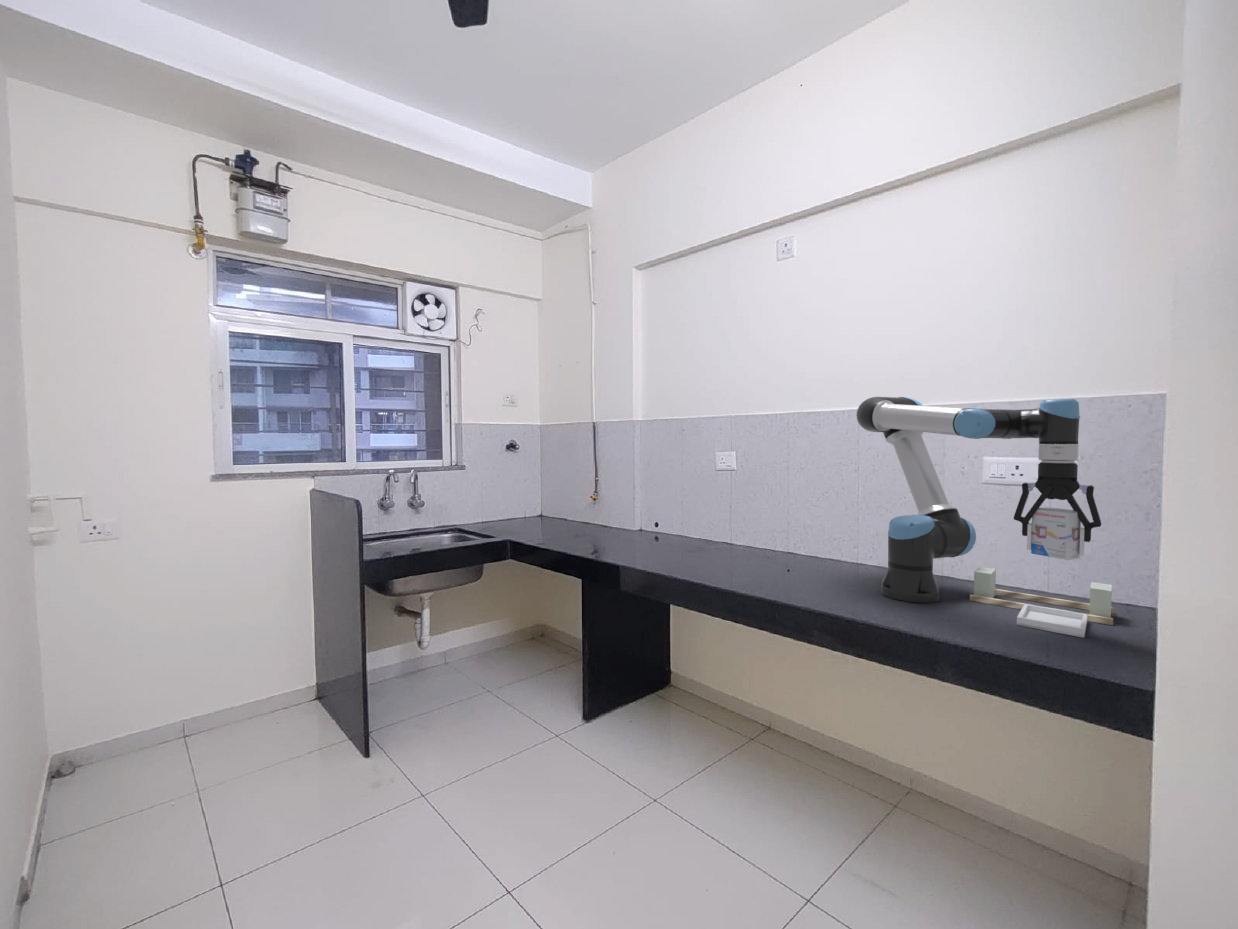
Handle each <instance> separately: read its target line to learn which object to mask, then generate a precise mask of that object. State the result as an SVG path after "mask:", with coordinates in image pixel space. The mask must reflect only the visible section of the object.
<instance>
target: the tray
mask: <svg viewBox="0 0 1238 929" xmlns="http://www.w3.org/2000/svg"><path fill="white" fill-rule="evenodd" d="M1029 604H1030V603H1025V604H1024V606H1023V608H1022V609H1020V611H1019V613H1017V614H1018V615H1017V616H1016V626H1019V627H1020V626H1021V627H1025V628H1032V629H1036V630H1040V631H1041V630H1042V631H1047V632H1051V633H1057V634H1062V635H1067V636H1073V637H1078V638H1083V639H1084V638H1085V636H1086V630H1087V624H1088V621H1087V615H1088V614H1089V613H1084V614H1082V613H1083V612H1079V613H1076V612H1077V611H1073V612H1070V611H1071V610H1067V611H1064V610H1065V609H1061V610H1059V609H1060V608H1055V609H1053V608H1054V607H1053V608H1052V607H1049V608H1047V606H1043V607H1041V606H1042V605H1037V606H1035V605H1036V604H1031V605H1029Z"/></svg>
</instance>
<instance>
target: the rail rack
mask: <svg viewBox="0 0 1238 929" xmlns="http://www.w3.org/2000/svg"><path fill="white" fill-rule="evenodd" d="M995 596H1000V597H1007V598H1012V599H1020V600H1025V601H1032V602H1036V603H1044V604H1049V605H1055V606H1062V607H1070V608H1073V609H1080V610H1086V611H1089V605H1090V602H1088V603H1087V602H1082V601H1077V600H1075V601H1074V600H1068V599H1062V598H1055V597H1049V596H1043V595H1037V594H1036V595H1035V594H1030V593H1026V592H1025V593H1024V592H1018V591H1011V590H1005V589H999V588H995ZM969 601H970V602H977V603H982V604H988V605H994V606H998V607H1004V608H1011V609H1012V608H1013V609H1017V610H1021V609H1022V608H1023V606H1024V604H1026V603H1023V602H1017V601H1014V600H1013V601H1012V600H1008V599H1007V600H1005V599H1000V598H995V597H994V598H989V597H983V596H977V595H974V594H969ZM1028 604H1029V605H1032V604H1030V603H1028ZM1034 605H1035V606H1038V605H1037V604H1034ZM1040 606H1041V607H1044V606H1042V605H1040ZM1046 607H1047V606H1046ZM1047 608H1050V607H1047ZM1053 609H1056V608H1054V607H1053ZM1058 609H1059V610H1062V609H1060V608H1058ZM1063 610H1064V611H1068V610H1066V609H1063ZM1069 611H1070V612H1074V611H1072V610H1069ZM1075 612H1076V613H1080V611H1079V612H1077V611H1075ZM1081 613H1082V614H1085V613H1083V612H1081ZM1087 614H1088V615H1087V622H1091V623H1098V624H1103V625H1109V626H1113V625H1114V618H1113V617H1111V618H1108V617H1102V616H1096V615H1090V614H1089V613H1087ZM1111 615H1114V607H1112V606H1111Z"/></svg>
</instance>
